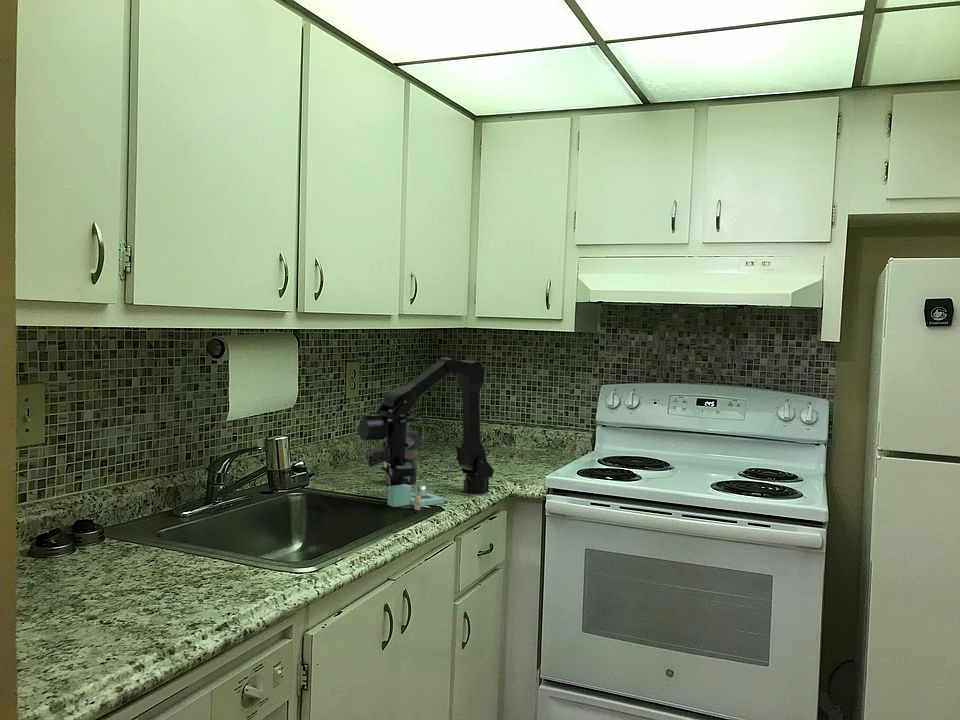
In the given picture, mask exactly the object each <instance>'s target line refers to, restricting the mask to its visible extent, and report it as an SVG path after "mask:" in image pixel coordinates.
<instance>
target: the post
mask: <svg viewBox="0 0 960 720" xmlns="http://www.w3.org/2000/svg"><path fill="white" fill-rule="evenodd" d="M415 486H416V489H415V493H416V496H421V500H422V499H427V493H428V485H426V484H425V485H424V484H416V485H415Z"/></svg>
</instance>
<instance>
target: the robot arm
mask: <svg viewBox="0 0 960 720" xmlns="http://www.w3.org/2000/svg"><path fill="white" fill-rule="evenodd" d="M485 369H486V368H485V366H484V365H483V364H482V363H481V362H479V361H472V360H461V361H460V360H456V359H453V358H451V357H440V358H439V359H437V361H436V362H435V363H433V364H432V365H431V366H430V367H428V368H427V369H426V370H425V371H423V372H422V373H421V374H419V375H418V376H417V377H416V378H414V379H412V381H410V382H409V383H407V384H405V385H402V386H398V387H397V388H394V389H393V390H390V391H388V392H386V394H385V395H384V397H383V401H382V403H381V404H380V406H379V408H377V411H376V412H375V414H367V413H365V414H362V419H361V420H360V421H359V423H358V424H359V425H358V426H357V433H358V435H359V439H360V440H361V441H377V440H378V441H379V440H383V441H382V442H381V446H379V447H375V448H372V449H369V450H367V451H364V452H362V455H363V459H364V461H365V464H366V465H367V466H368V467H369V468H372V467H374V466H376V465H378V464H381V463H383V466H381V467H380V469H381V470H382V471H383V472H384V473H385V475H386V474H387V477H388V482H389V484H388V486H393V485H400V484H401V482H402V480H403V479H404V477H410V476H415V468H414V467H413V466H412V465H411V464H409V463H403V462H408V458H406V447H408V446H409V443H407V429H408V425H409V424H408V423H412V422H415V421H416V419H415V418H414V417H413V416H412V415H411V413H410V411H411V410H412V409H413V408H414V407H415V406H416V404H417V402H418V400H419V399H420V397H421V396H422V395H424V394H425V393H426V392H427V391H428V390H430V389H431V388H432V387H434V386H436V384H437V383H439V382H440V381H441V380H443V379H444V378H446V376H448V375H449V374H452V375H456V381H457V384H458V386H459V388H460V390H461V394H462V397H461V399H462V424H463V425H462V431H463V432H462V437H463V440H462V443H461V445H460V446H456V449H455V450H456V459H455V460H456V461H457V462H458V465H459V466H460V468H461V472H462V474H465V478H464V480H463V490H462V491H463V493H465V494H468V495H471V494H473V495H484V494H486V493H489V490H490V489H489V488H490V484H489V483H490V478H492V477H493V475H494V472H495V470H494V468H493V467H492V466H491V464H490V463H489V462H488V459H487V453H486V450H485V447H484V445H483V443H482V440H481V420H480V419H481V413H480V409H481V408H480V390H481V389H482V386H483V384H484V382H485V373H486V370H485Z"/></svg>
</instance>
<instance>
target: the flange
mask: <svg viewBox="0 0 960 720" xmlns="http://www.w3.org/2000/svg"><path fill="white" fill-rule="evenodd" d="M412 487H413V485H407V484H401V485H393V486H389V485H388V486H387V505H388V506H390V507H392V508H397V507H402V506H411V505H412V506H414V507H415V496H416V492H415V493H412ZM444 503H445V498H444V497H441V496H438V495H436V494H433V493H429V492H427V499H422V500H421V507H424V506H433V505H437V504H444Z"/></svg>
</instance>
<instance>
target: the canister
mask: <svg viewBox="0 0 960 720" xmlns="http://www.w3.org/2000/svg"><path fill="white" fill-rule="evenodd" d="M407 443H409V446H408V447H406V458H408V462H403V463H409V464H411V465H412V466H413V467H414V468H415V476H410V477H404V479H403V480H402V482H401V484H407V485H410V486H413V485H415V484H416V483H417V474H418V473H417V471H418V453H419V452H418V450H419V449H418V448H419V447H418V446H419V432H418V431H417V430H415V429H411V428H407ZM385 483H386V484H388V485H389V482H388V477H387V474H386V473H385ZM401 484H400V485H401Z"/></svg>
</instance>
